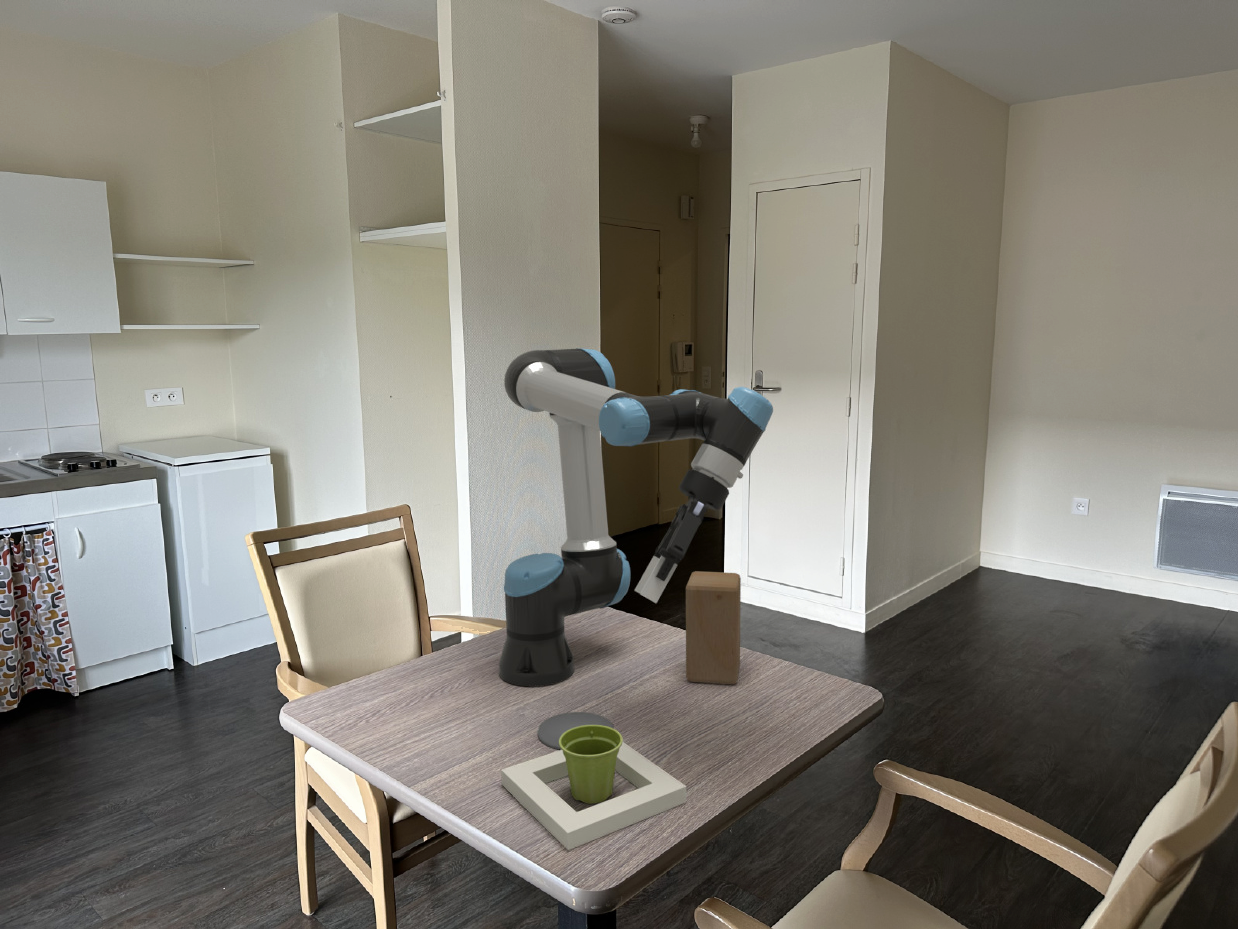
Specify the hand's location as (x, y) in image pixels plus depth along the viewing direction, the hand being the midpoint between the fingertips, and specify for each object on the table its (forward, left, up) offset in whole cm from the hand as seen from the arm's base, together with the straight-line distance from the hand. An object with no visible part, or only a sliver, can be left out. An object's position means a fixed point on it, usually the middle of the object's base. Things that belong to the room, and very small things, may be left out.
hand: (644, 596), depth 132 cm
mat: (-14, -5, -27) cm, 31 cm away
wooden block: (-19, +30, -27) cm, 45 cm away
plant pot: (+4, -13, -27) cm, 30 cm away
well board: (+4, -13, -27) cm, 30 cm away
